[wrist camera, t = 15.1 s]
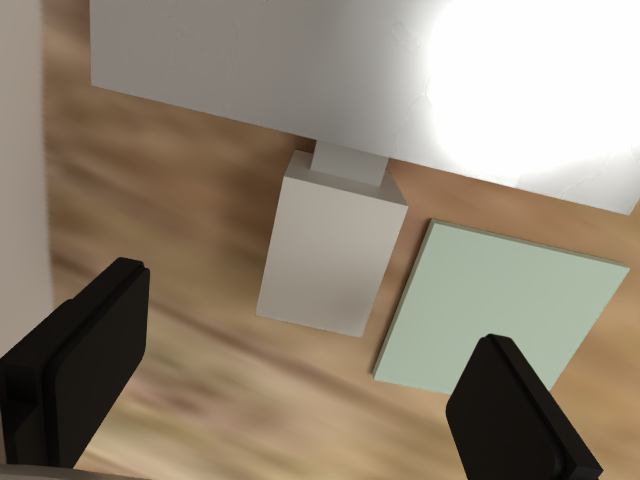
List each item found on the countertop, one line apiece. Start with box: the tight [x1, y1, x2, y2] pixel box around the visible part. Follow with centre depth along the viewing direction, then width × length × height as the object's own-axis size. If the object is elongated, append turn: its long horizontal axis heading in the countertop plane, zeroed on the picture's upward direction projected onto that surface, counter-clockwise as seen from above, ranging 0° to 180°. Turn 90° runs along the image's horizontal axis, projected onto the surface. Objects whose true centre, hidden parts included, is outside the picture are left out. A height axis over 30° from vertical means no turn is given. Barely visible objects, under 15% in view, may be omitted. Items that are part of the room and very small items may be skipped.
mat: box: [373, 219, 630, 395], centre depth 21 cm, size 10×10×1 cm
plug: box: [255, 140, 409, 338], centre depth 15 cm, size 18×4×4 cm, turn 166°
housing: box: [90, 0, 640, 215], centre depth 11 cm, size 5×12×9 cm, turn 77°
